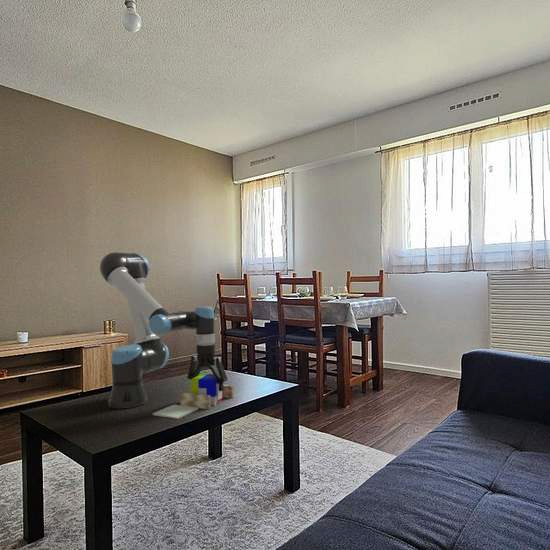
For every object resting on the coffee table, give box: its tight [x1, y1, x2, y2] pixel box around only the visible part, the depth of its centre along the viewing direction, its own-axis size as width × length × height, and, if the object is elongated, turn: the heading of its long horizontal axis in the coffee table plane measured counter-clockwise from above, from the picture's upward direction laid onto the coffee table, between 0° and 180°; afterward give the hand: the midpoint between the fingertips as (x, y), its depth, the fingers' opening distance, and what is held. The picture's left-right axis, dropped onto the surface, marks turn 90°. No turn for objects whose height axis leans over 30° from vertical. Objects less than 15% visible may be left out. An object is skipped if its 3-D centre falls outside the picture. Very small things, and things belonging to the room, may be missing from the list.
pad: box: [152, 404, 199, 420], centre depth 157 cm, size 12×12×1 cm
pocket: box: [179, 384, 234, 410], centre depth 170 cm, size 14×17×5 cm
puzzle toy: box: [190, 373, 224, 406], centre depth 170 cm, size 10×10×10 cm
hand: (207, 397), depth 170 cm, fingers closed on puzzle toy, 11 cm apart
